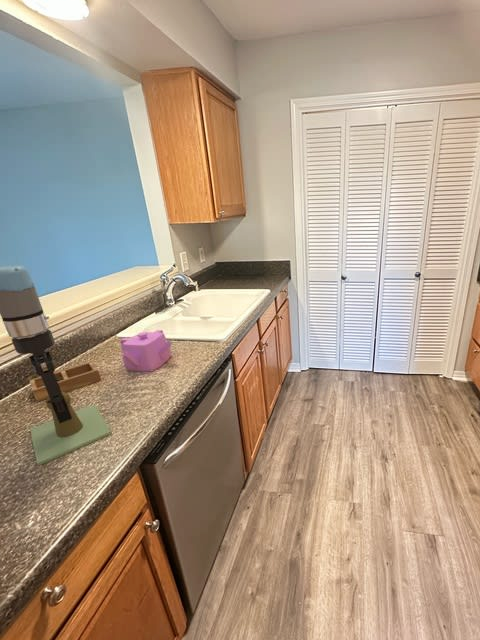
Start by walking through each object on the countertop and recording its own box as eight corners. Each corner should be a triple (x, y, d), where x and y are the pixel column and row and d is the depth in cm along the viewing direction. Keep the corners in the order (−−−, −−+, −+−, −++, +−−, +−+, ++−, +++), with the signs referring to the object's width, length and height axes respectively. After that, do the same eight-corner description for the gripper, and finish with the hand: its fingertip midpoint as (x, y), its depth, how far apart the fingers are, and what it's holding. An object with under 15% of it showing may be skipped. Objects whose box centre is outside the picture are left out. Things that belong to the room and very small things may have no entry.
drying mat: (30, 430, 89) (29, 428, 88) (96, 406, 98) (95, 403, 98) (37, 466, 76) (36, 463, 76) (111, 433, 86) (111, 431, 86)
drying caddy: (33, 390, 109) (29, 380, 108) (94, 370, 120) (91, 361, 119) (36, 401, 102) (32, 391, 101) (101, 380, 113) (98, 370, 112)
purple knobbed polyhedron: (167, 349, 135) (160, 321, 130) (178, 364, 122) (171, 334, 117) (122, 361, 126) (113, 332, 121) (128, 379, 113) (119, 347, 108)
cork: (67, 439, 83) (52, 403, 79) (51, 435, 85) (35, 400, 81) (88, 424, 89) (75, 390, 84) (72, 421, 91) (59, 387, 86)
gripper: (56, 340, 71) (87, 424, 80) (44, 319, 86) (72, 391, 94) (12, 351, 66) (51, 439, 75) (8, 326, 81) (40, 402, 90)
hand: (62, 412), depth 85 cm, fingers open, 8 cm apart
